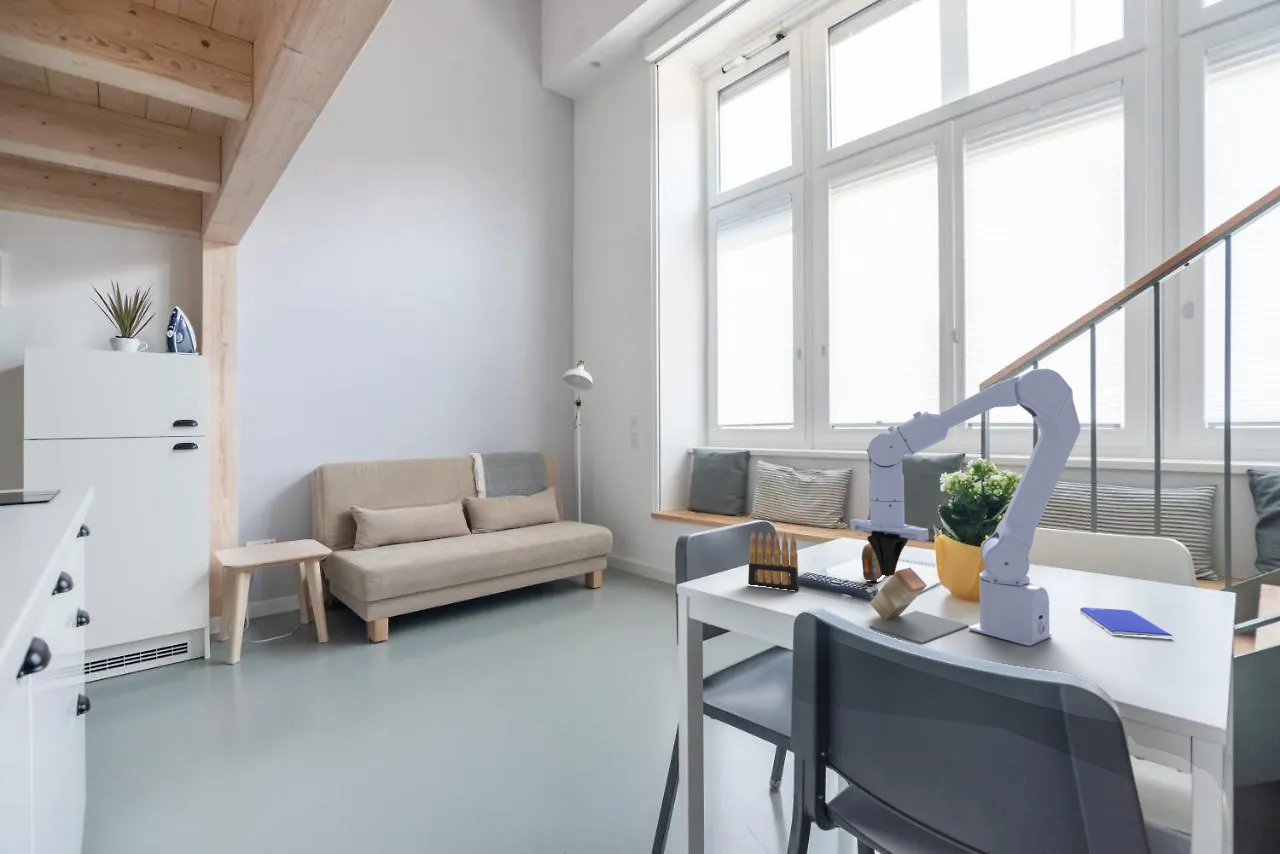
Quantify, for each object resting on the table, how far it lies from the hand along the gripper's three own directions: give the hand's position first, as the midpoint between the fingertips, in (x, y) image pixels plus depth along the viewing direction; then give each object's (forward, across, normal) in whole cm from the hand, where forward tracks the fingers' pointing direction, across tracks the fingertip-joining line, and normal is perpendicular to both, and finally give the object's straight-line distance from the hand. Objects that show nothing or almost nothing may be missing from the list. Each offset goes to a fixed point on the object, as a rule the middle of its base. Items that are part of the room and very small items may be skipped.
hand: (888, 574), depth 108 cm
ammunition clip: (+8, -26, -2) cm, 28 cm away
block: (+7, -1, 0) cm, 7 cm away
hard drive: (+9, +25, +29) cm, 40 cm away
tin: (+8, -18, +23) cm, 30 cm away
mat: (+8, +6, 0) cm, 10 cm away
